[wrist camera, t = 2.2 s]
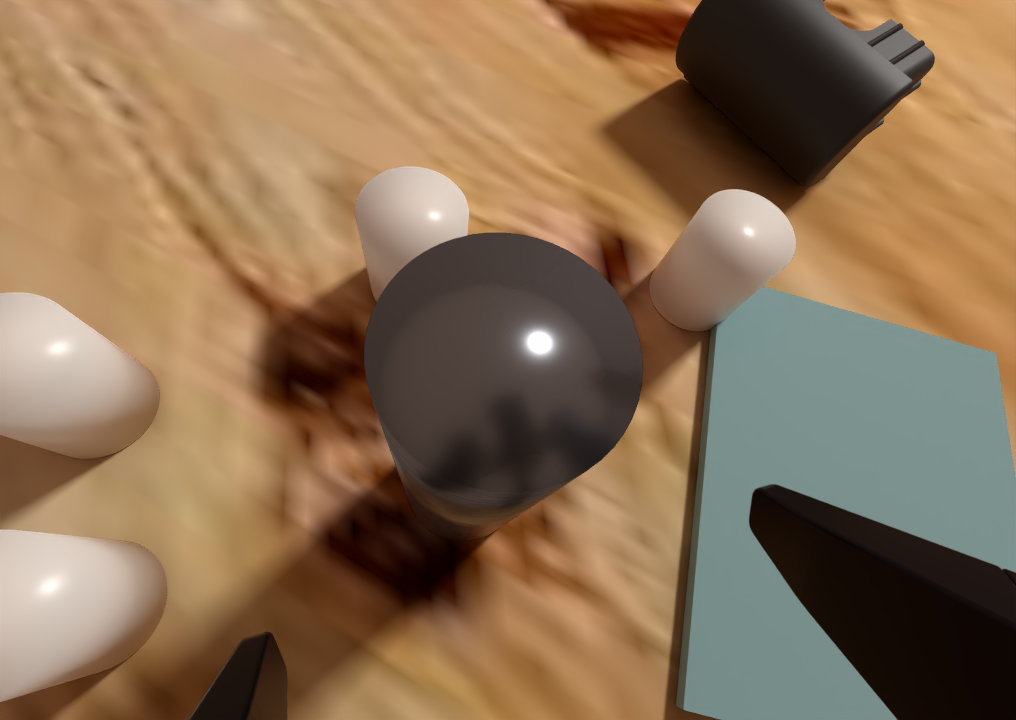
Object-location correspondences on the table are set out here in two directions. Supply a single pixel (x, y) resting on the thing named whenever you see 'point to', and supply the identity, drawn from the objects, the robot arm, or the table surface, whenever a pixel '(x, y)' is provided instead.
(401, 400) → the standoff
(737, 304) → the spacers
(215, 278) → the table surface
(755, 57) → the end cap
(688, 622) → the mat
